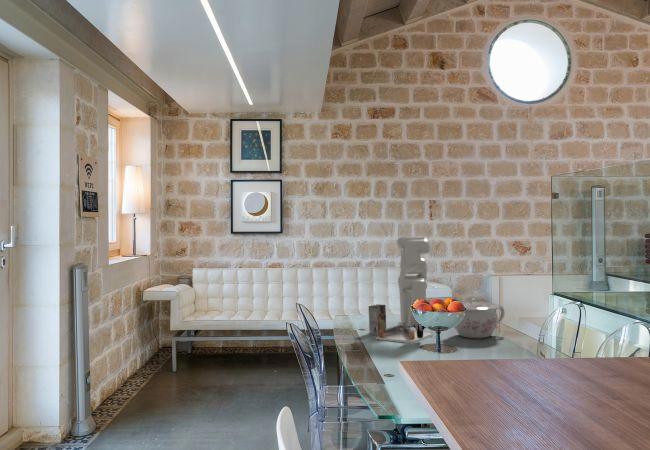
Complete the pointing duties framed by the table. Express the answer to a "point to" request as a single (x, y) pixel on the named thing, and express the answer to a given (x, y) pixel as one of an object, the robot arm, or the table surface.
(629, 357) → the table surface
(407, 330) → the tong arm
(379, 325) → the coffee box
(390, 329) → the tong base
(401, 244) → the robot arm
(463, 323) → the chamber pot
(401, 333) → the plate
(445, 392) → the table surface
